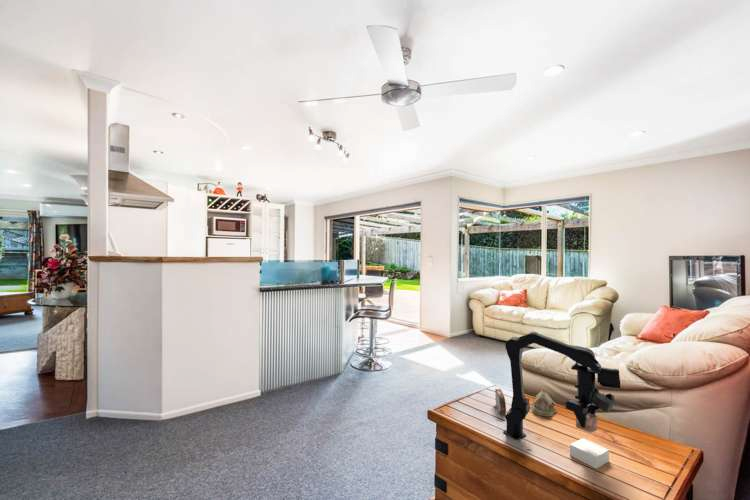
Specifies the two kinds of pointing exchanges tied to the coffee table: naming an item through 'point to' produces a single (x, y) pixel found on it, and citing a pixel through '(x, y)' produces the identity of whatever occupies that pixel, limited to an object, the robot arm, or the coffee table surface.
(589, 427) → the terracotta cube
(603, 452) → the base block
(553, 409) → the ceramic model
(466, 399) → the coffee table surface
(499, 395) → the mottled stone slab
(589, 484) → the coffee table surface
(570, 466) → the coffee table surface
